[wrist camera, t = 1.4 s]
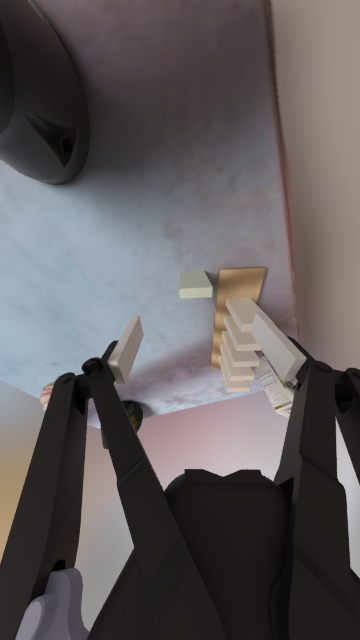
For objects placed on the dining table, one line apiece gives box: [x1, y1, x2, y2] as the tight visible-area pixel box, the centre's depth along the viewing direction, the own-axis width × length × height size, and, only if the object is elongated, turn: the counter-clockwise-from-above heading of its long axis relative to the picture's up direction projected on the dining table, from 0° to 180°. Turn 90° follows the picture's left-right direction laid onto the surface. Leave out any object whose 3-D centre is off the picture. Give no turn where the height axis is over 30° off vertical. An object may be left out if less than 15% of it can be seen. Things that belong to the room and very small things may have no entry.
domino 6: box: [219, 356, 250, 392], centre depth 37 cm, size 2×5×10 cm, turn 93°
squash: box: [101, 402, 143, 449], centre depth 54 cm, size 14×15×15 cm
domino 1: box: [179, 271, 213, 299], centre depth 26 cm, size 2×5×10 cm, turn 93°
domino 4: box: [222, 331, 260, 367], centre depth 32 cm, size 2×5×10 cm, turn 94°
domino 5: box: [220, 344, 255, 381], centre depth 35 cm, size 2×5×10 cm, turn 93°
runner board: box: [210, 267, 266, 369], centre depth 37 cm, size 30×9×1 cm, turn 3°
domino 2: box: [226, 298, 274, 332], centre depth 28 cm, size 2×5×10 cm, turn 93°
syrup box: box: [253, 355, 295, 419], centre depth 38 cm, size 6×6×14 cm
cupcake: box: [40, 376, 60, 411], centre depth 47 cm, size 9×9×10 cm
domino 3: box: [224, 316, 262, 351], centre depth 30 cm, size 2×5×10 cm, turn 94°
